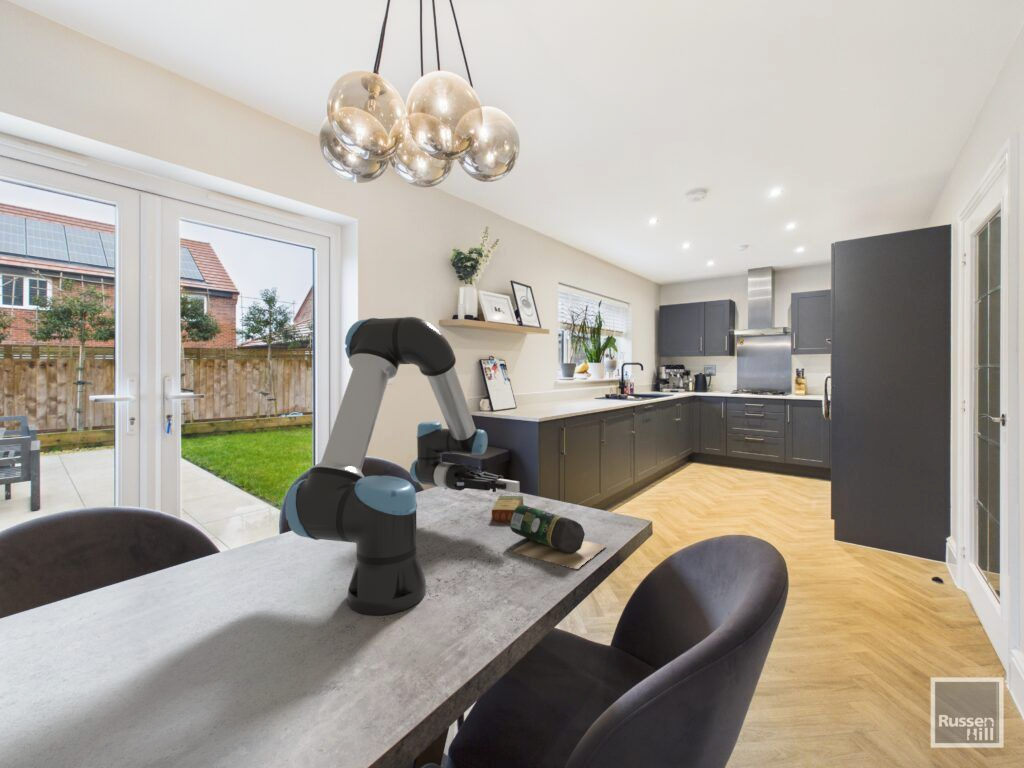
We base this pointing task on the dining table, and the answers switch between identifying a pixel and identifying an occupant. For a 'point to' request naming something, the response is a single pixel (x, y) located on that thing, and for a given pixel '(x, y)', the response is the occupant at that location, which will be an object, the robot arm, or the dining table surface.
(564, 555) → the mat
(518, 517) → the coffee jar
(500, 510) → the carton
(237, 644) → the dining table surface
